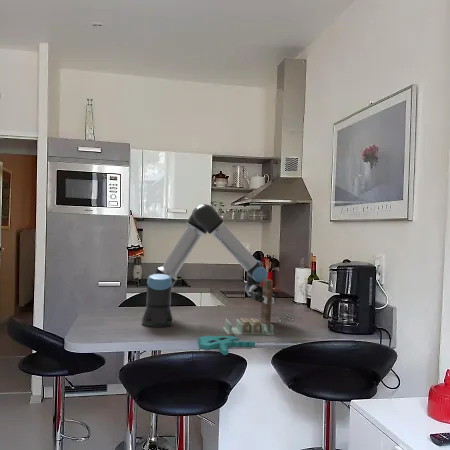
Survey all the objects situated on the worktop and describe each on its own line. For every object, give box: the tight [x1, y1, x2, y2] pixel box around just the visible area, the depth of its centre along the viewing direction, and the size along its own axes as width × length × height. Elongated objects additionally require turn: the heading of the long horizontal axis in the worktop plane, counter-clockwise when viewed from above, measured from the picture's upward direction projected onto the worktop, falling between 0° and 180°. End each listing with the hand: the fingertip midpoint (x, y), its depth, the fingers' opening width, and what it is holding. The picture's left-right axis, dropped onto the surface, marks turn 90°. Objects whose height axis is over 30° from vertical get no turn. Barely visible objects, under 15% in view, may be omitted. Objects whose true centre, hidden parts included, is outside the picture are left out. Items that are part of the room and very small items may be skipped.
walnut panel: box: [260, 278, 274, 325], centre depth 216 cm, size 2×8×20 cm, turn 9°
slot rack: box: [222, 318, 276, 336], centre depth 215 cm, size 22×13×5 cm, turn 99°
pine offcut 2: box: [249, 317, 261, 333], centre depth 215 cm, size 3×8×5 cm, turn 9°
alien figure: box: [197, 334, 256, 356], centre depth 191 cm, size 20×2×20 cm
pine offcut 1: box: [239, 317, 250, 333], centre depth 215 cm, size 3×8×5 cm, turn 9°
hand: (269, 300), depth 211 cm, fingers closed on walnut panel, 2 cm apart
